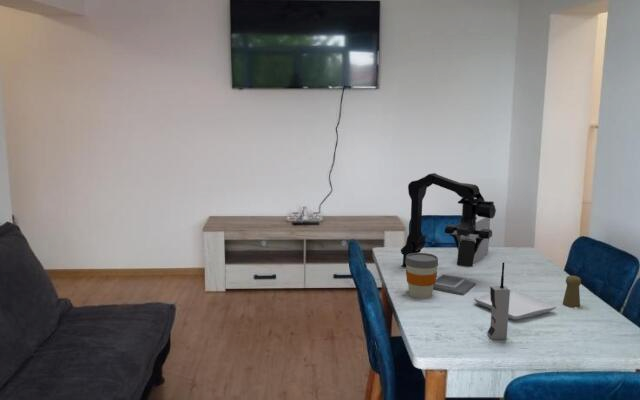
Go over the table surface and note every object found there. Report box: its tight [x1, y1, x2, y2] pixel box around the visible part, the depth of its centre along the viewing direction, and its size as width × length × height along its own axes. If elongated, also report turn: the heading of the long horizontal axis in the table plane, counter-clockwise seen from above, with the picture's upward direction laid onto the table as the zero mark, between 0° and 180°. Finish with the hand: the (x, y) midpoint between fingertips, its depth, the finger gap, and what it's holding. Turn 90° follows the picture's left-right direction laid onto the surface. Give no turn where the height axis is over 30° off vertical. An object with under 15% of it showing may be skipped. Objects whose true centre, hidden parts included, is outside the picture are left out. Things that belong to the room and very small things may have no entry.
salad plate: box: [472, 288, 557, 320], centre depth 207 cm, size 21×21×3 cm
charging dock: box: [433, 273, 476, 296], centre depth 231 cm, size 18×15×2 cm
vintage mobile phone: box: [486, 262, 510, 341], centre depth 180 cm, size 4×5×25 cm
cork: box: [562, 275, 582, 309], centre depth 210 cm, size 6×6×11 cm
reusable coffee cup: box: [405, 252, 439, 299], centre depth 221 cm, size 12×13×15 cm
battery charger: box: [456, 239, 476, 268], centre depth 239 cm, size 7×4×11 cm, turn 83°
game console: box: [457, 215, 491, 268], centre depth 268 cm, size 6×27×20 cm, turn 145°
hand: (467, 251), depth 239 cm, fingers closed on battery charger, 7 cm apart
